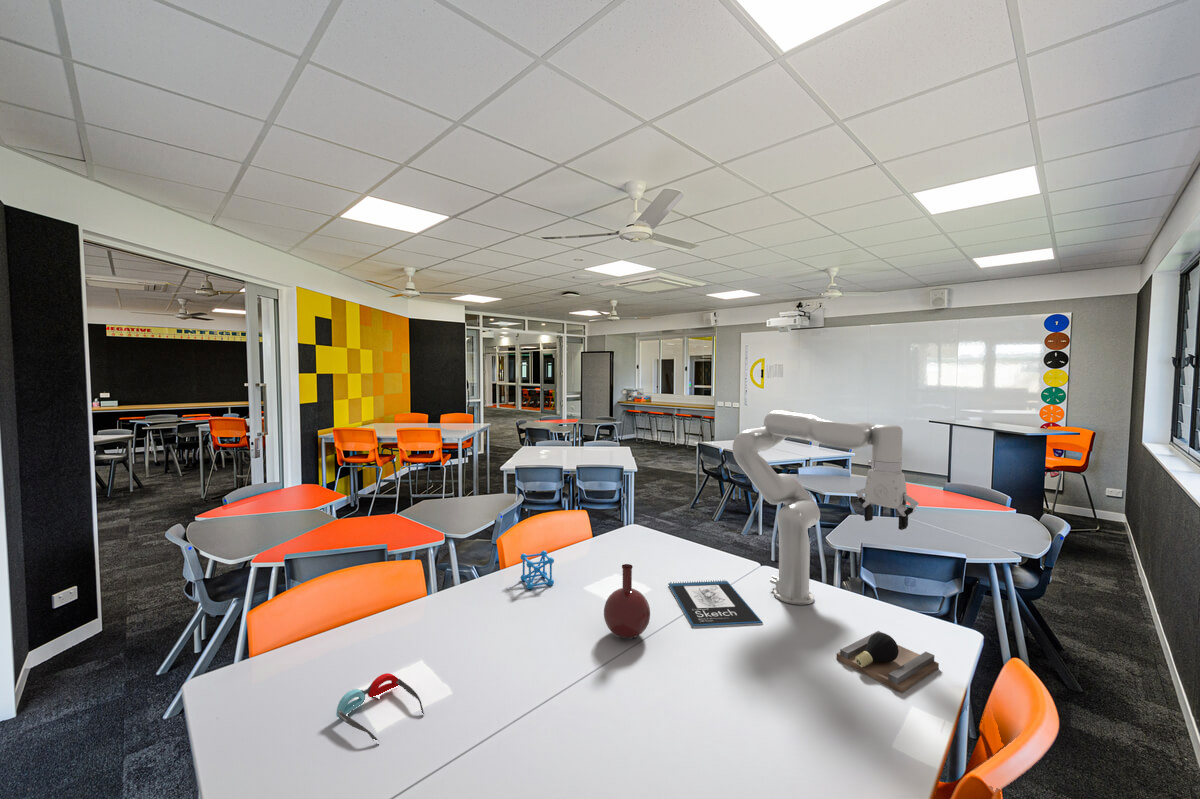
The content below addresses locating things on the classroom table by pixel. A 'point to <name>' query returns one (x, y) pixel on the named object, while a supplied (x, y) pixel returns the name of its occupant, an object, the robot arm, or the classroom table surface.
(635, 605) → the round-bottom flask
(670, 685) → the classroom table surface
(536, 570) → the molecular structure
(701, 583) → the sketchbook
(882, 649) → the light bulb
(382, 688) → the novelty glasses
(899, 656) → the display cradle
